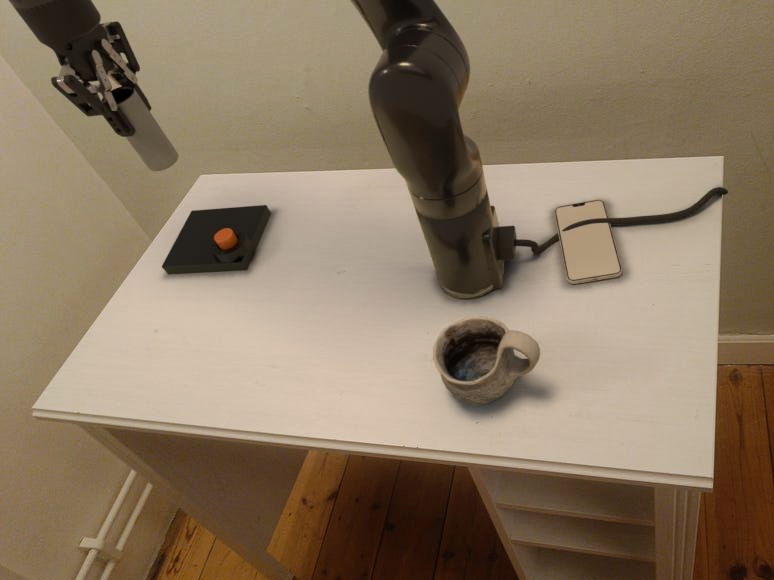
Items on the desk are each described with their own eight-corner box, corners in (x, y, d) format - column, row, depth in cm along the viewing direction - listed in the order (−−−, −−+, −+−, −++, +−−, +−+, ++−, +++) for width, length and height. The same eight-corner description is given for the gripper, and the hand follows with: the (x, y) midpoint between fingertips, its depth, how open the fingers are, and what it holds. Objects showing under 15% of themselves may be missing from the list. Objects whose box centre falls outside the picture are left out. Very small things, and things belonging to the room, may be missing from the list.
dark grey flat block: (274, 213, 102) (264, 196, 100) (249, 270, 95) (238, 254, 92) (197, 218, 105) (186, 203, 102) (168, 274, 98) (155, 259, 95)
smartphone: (567, 282, 81) (553, 207, 90) (567, 285, 82) (553, 210, 91) (623, 273, 80) (603, 198, 89) (623, 276, 81) (603, 201, 90)
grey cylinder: (169, 171, 86) (122, 105, 77) (143, 172, 87) (93, 106, 78) (184, 151, 88) (140, 84, 80) (158, 151, 89) (112, 86, 81)
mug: (452, 348, 79) (434, 297, 71) (549, 349, 76) (541, 296, 68) (439, 413, 74) (418, 366, 66) (543, 416, 71) (534, 368, 63)
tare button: (240, 235, 95) (235, 227, 94) (234, 249, 94) (228, 241, 92) (223, 236, 96) (217, 228, 95) (217, 250, 94) (211, 242, 93)
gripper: (39, 16, 64) (139, 154, 78) (100, -45, 72) (181, 89, 86) (-20, 25, 65) (89, 159, 79) (46, -36, 74) (135, 95, 87)
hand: (136, 122), depth 82 cm, fingers closed on grey cylinder, 4 cm apart
